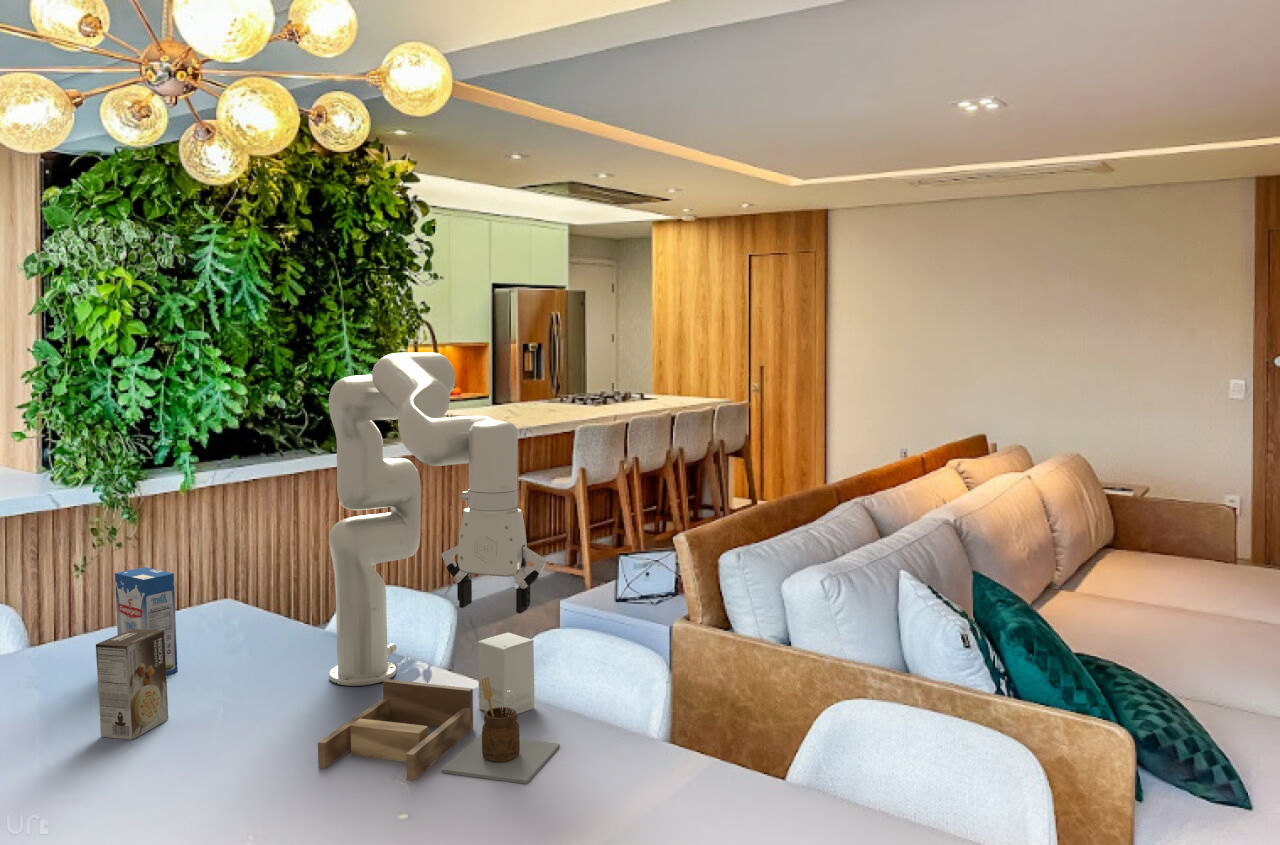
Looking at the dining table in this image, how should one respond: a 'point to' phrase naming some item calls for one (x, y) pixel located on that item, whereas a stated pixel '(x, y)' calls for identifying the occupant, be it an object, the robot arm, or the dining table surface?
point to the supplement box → (507, 671)
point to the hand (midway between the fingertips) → (493, 608)
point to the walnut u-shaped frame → (412, 721)
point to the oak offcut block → (385, 739)
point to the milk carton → (148, 606)
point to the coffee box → (132, 683)
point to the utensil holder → (499, 730)
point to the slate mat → (512, 771)
